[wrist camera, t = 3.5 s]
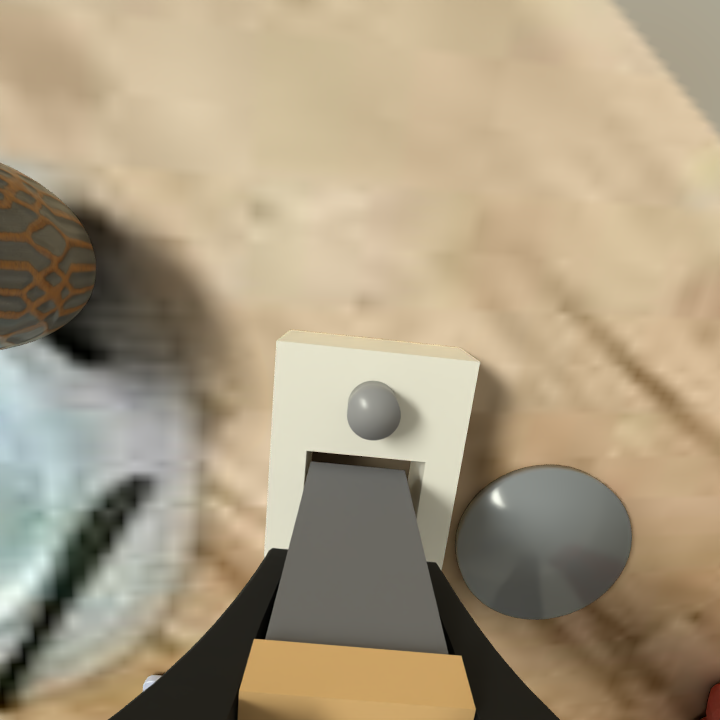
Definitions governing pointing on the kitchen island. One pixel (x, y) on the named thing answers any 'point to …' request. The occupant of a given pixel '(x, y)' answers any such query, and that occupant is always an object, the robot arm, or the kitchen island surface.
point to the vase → (39, 261)
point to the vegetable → (713, 704)
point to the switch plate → (369, 421)
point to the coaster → (542, 542)
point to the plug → (355, 612)
